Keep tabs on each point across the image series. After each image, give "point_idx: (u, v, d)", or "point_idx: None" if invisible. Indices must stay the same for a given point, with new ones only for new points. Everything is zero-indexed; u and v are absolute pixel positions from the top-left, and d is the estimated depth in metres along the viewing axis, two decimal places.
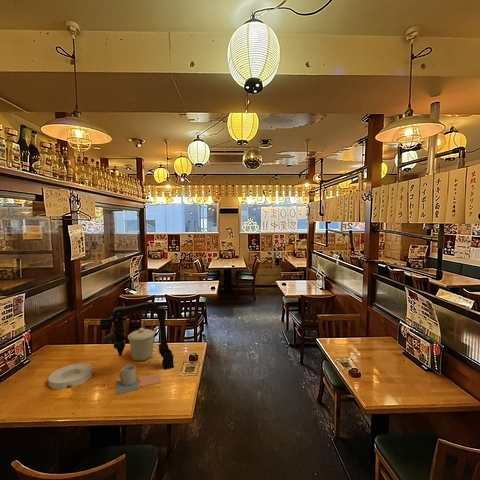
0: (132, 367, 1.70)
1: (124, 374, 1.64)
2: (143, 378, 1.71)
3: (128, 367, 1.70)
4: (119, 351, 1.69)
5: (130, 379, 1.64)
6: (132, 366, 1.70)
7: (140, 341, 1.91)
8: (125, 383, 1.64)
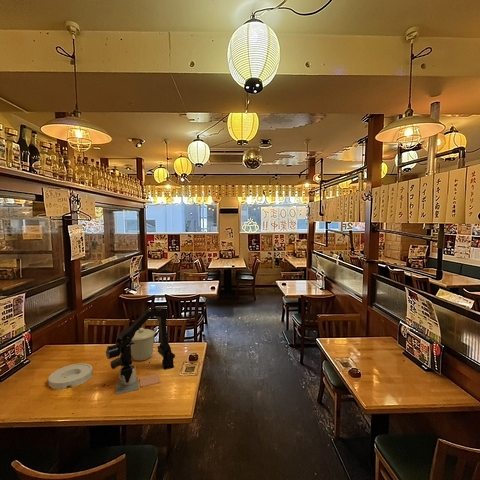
0: (132, 367, 1.71)
1: None
2: (143, 378, 1.71)
3: None
4: (126, 378, 1.62)
5: (130, 379, 1.64)
6: (132, 366, 1.70)
7: (140, 341, 1.91)
8: (125, 383, 1.64)
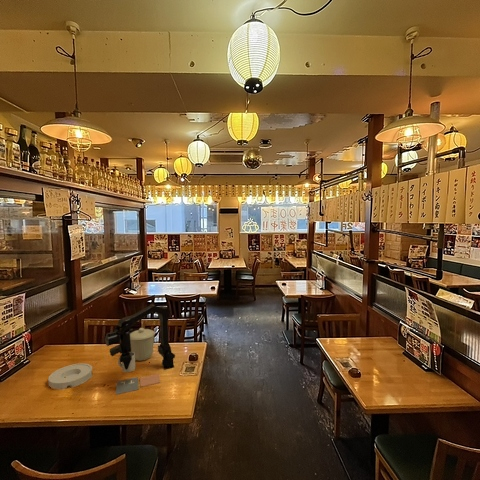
0: None
1: None
2: (143, 378, 1.71)
3: None
4: (125, 364, 1.62)
5: (129, 366, 1.64)
6: (131, 353, 1.70)
7: (140, 341, 1.91)
8: (124, 370, 1.64)
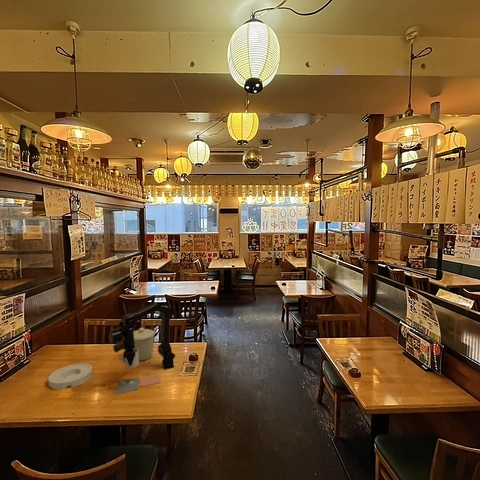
0: (135, 350, 1.71)
1: None
2: (143, 378, 1.71)
3: None
4: (129, 361, 1.63)
5: (133, 362, 1.65)
6: (135, 349, 1.71)
7: (140, 341, 1.91)
8: (128, 366, 1.65)
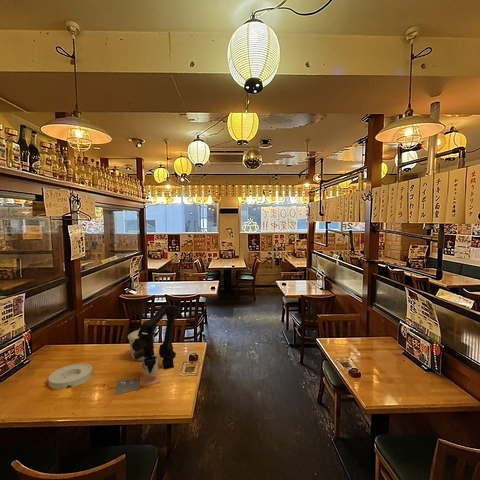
0: None
1: None
2: (143, 378, 1.71)
3: None
4: (149, 368, 1.64)
5: (153, 369, 1.67)
6: None
7: None
8: (148, 373, 1.66)
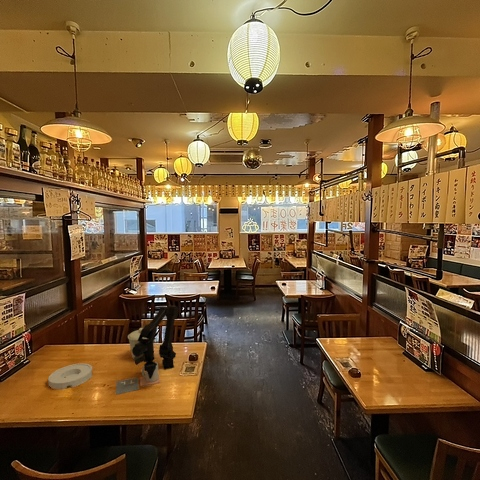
0: None
1: None
2: (143, 378, 1.71)
3: None
4: (149, 374, 1.64)
5: (153, 376, 1.67)
6: None
7: None
8: (148, 380, 1.67)
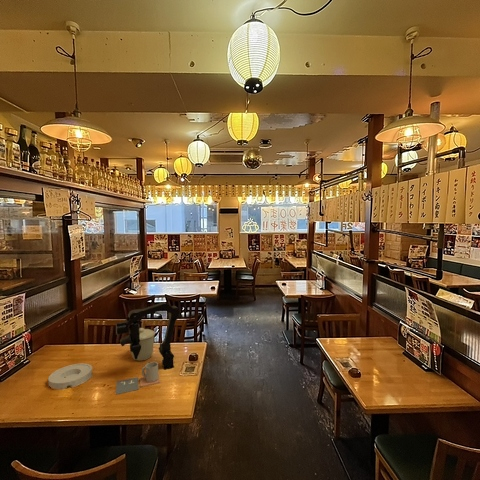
0: (154, 364, 1.73)
1: (147, 371, 1.66)
2: (143, 378, 1.71)
3: (150, 364, 1.73)
4: (134, 354, 1.70)
5: (153, 376, 1.67)
6: (154, 363, 1.73)
7: (140, 341, 1.91)
8: (148, 380, 1.67)
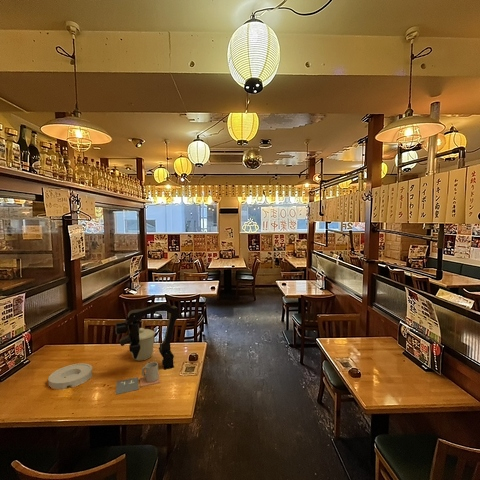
0: (154, 364, 1.73)
1: (147, 371, 1.66)
2: (143, 378, 1.71)
3: (150, 364, 1.73)
4: (134, 354, 1.71)
5: (153, 376, 1.67)
6: (154, 363, 1.73)
7: (140, 341, 1.91)
8: (148, 380, 1.67)
